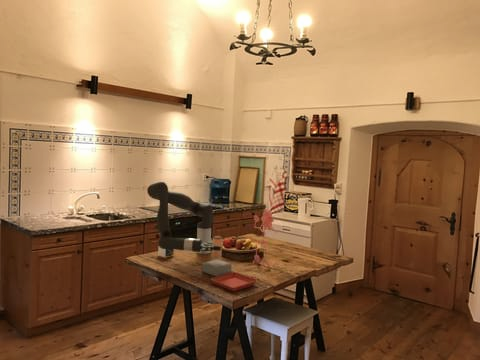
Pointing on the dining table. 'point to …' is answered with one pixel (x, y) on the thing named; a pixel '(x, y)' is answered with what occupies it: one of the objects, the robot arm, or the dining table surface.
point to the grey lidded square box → (216, 267)
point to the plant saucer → (233, 281)
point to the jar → (217, 242)
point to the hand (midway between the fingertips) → (221, 247)
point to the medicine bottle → (165, 252)
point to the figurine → (267, 222)
